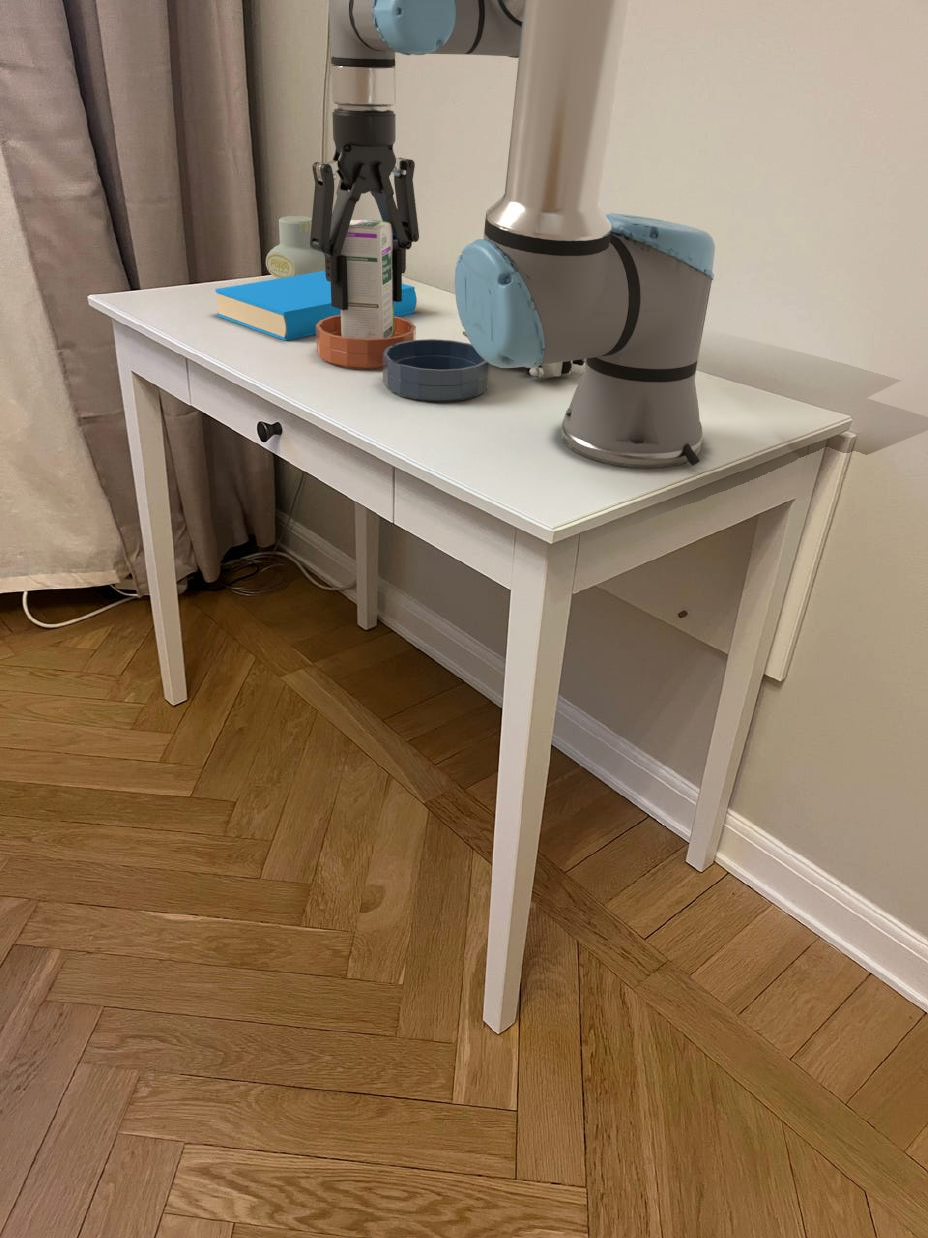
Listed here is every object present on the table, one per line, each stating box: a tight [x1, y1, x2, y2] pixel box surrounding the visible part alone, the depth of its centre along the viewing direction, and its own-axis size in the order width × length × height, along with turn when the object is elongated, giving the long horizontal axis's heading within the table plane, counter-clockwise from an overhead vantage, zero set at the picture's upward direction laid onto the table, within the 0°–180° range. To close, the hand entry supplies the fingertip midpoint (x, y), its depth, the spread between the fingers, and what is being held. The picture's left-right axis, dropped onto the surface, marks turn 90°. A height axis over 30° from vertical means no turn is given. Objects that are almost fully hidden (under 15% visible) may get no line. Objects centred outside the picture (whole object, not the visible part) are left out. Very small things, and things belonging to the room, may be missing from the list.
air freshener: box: [265, 215, 325, 279], centre depth 165 cm, size 11×8×10 cm
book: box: [215, 271, 418, 342], centre depth 148 cm, size 17×4×25 cm
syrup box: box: [341, 219, 394, 339], centre depth 127 cm, size 6×6×14 cm
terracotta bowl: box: [315, 315, 417, 370], centre depth 132 cm, size 13×13×4 cm
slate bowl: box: [382, 338, 491, 403], centre depth 122 cm, size 13×13×4 cm
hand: (367, 303), depth 129 cm, fingers closed on syrup box, 8 cm apart
